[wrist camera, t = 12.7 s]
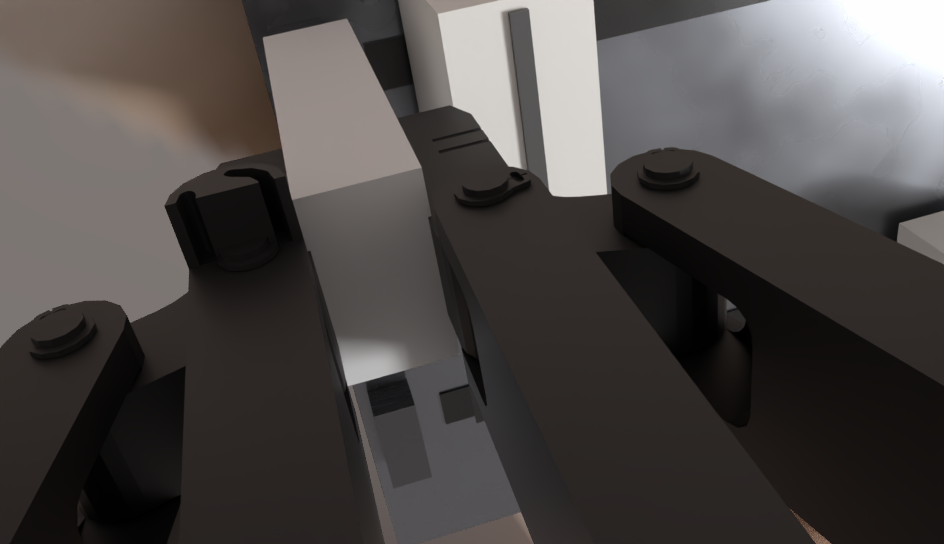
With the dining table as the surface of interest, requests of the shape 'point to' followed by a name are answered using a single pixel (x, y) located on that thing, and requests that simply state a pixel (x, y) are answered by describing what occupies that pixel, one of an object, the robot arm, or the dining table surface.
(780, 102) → the console
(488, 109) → the fader
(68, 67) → the dining table surface
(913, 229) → the fader
